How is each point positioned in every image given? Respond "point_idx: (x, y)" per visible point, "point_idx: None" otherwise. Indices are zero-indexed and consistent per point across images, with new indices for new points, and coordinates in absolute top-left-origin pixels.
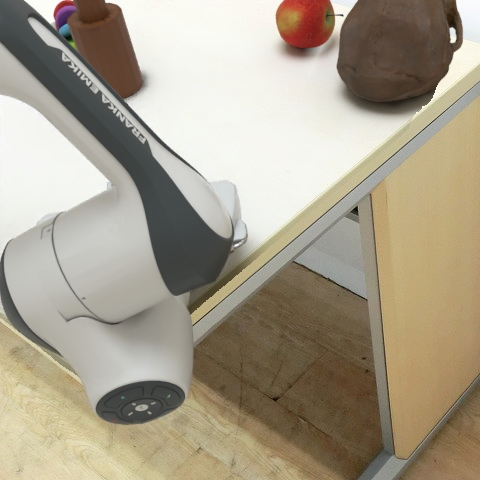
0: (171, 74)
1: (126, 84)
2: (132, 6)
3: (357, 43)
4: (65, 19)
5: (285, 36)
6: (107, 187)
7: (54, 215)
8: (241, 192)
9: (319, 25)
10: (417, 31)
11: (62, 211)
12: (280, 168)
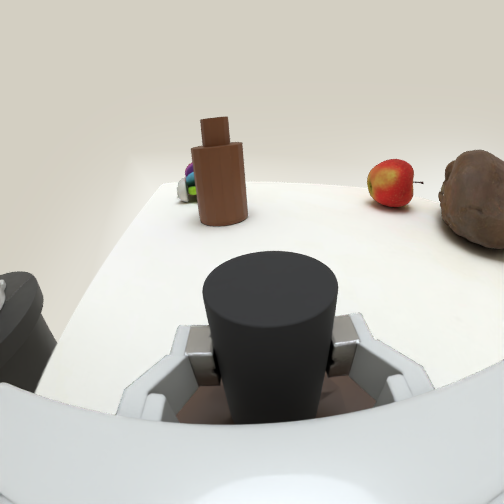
0: (274, 212)
1: (233, 211)
2: None
3: (481, 185)
4: (192, 171)
5: (380, 191)
6: (174, 343)
7: (6, 398)
8: (415, 353)
9: (410, 185)
10: None
11: (27, 393)
12: (447, 314)
